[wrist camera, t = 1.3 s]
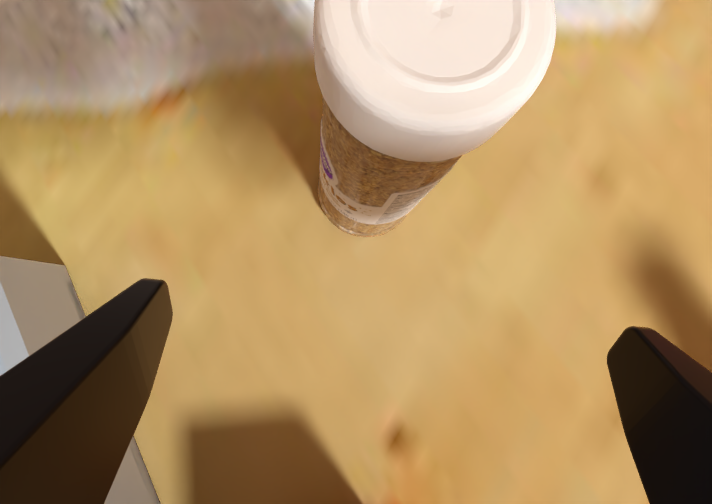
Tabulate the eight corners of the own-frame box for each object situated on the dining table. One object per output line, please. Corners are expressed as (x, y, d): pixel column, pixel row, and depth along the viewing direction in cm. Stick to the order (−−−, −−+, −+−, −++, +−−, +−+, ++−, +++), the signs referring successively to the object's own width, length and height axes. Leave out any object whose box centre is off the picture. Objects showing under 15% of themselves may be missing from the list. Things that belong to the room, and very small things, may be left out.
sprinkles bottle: (300, 172, 21) (265, -55, 8) (384, 130, 22) (486, -149, 8) (347, 257, 21) (393, 173, 7) (430, 212, 21) (613, 59, 8)
